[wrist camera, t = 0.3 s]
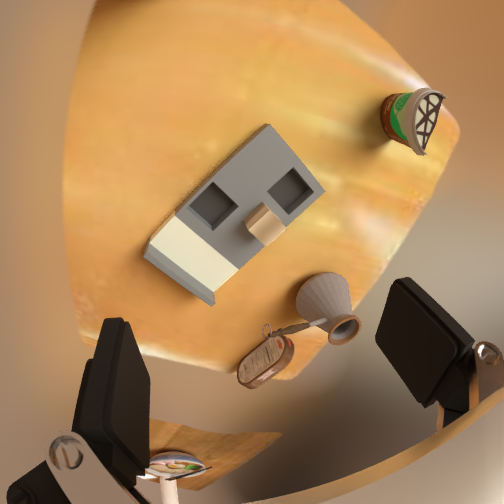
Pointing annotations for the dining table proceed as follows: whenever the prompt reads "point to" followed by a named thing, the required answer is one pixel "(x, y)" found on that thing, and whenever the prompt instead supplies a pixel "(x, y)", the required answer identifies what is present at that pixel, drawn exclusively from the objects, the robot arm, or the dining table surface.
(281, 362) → the tin
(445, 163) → the dining table surface
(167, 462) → the ramen bowl
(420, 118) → the food container
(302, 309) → the coffee pot
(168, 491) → the bottle
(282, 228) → the block
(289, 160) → the board
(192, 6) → the dining table surface
